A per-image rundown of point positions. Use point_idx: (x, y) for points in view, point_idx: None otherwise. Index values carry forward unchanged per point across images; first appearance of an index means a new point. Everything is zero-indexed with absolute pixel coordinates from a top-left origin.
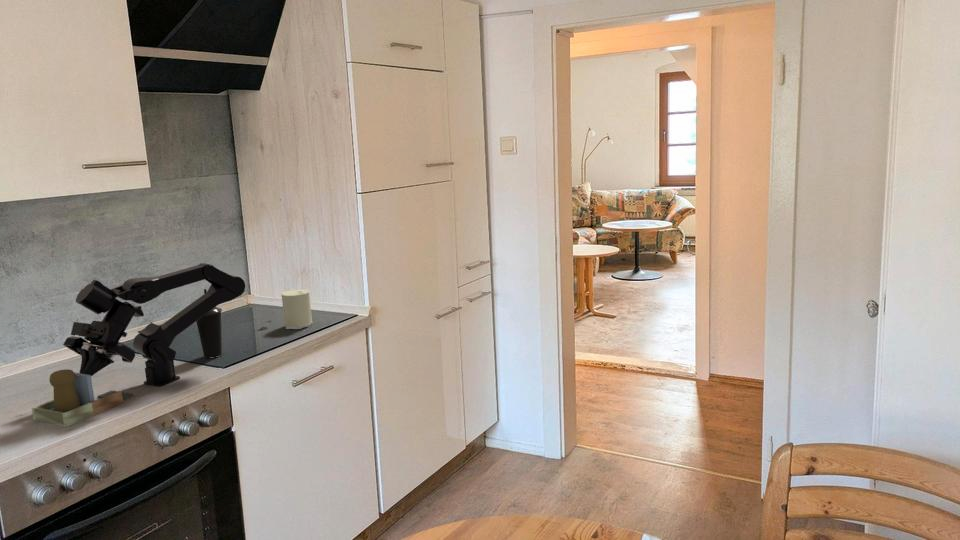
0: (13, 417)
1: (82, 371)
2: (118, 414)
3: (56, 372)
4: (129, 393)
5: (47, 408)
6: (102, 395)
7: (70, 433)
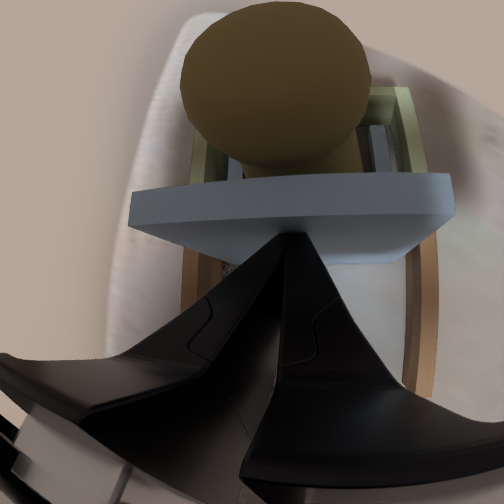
0: (489, 118)
1: (284, 268)
2: (133, 273)
3: (270, 12)
4: None
5: (401, 148)
6: None
7: (165, 115)
